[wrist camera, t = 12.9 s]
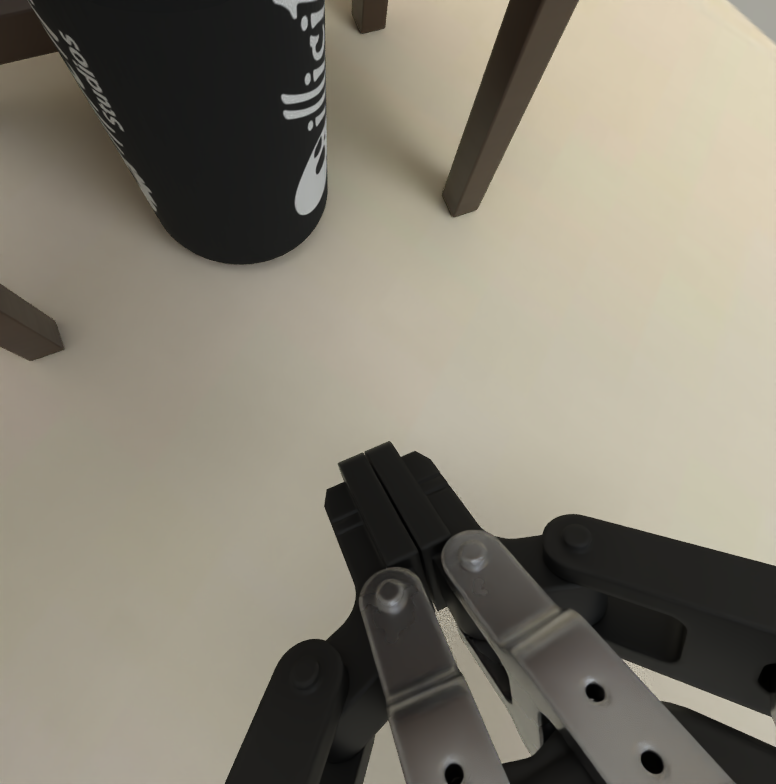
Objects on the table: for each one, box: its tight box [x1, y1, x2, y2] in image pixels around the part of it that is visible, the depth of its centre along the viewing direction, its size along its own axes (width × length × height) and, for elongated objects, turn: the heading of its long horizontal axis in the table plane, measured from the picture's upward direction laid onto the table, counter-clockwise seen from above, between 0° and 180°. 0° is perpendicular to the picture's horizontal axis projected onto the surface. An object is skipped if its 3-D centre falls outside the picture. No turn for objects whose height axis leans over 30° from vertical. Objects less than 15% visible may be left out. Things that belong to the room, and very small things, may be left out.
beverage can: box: [28, 0, 327, 264], centre depth 14 cm, size 7×7×12 cm
